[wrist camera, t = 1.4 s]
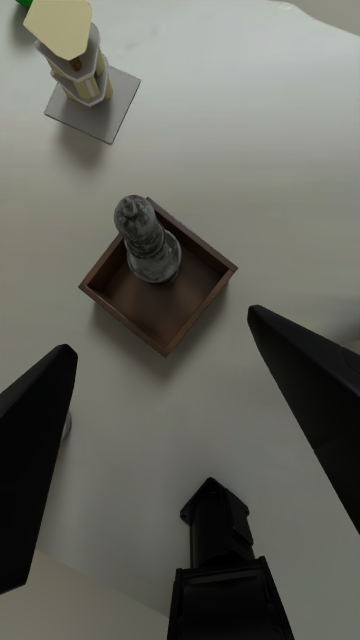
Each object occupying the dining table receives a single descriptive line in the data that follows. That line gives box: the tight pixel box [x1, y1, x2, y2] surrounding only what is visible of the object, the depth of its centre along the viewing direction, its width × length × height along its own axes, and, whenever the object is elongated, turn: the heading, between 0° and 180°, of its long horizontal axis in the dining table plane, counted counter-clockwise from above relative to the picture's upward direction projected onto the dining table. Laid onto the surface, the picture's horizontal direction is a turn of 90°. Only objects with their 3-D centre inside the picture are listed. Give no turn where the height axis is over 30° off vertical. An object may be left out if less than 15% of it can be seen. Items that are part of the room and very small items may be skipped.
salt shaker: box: [114, 195, 181, 286], centre depth 16 cm, size 6×6×12 cm
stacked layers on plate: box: [23, 0, 141, 144], centre depth 19 cm, size 10×9×6 cm
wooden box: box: [78, 197, 238, 358], centre depth 20 cm, size 12×12×4 cm
